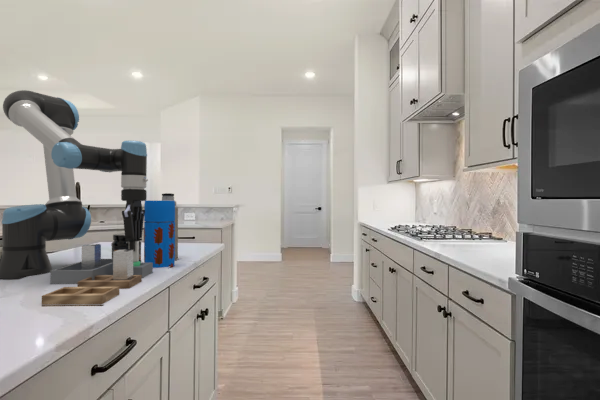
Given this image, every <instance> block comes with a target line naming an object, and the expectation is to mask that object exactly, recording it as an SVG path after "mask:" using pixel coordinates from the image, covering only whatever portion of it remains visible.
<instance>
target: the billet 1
mask: <svg viewBox="0 0 600 400" xmlns="http://www.w3.org/2000/svg"><path fill="white" fill-rule="evenodd" d="M101 259H102V244H101V243H95V244H93V243H92V244H84V245H81V261H82V270H93V269H95V268H98V267H101Z"/></svg>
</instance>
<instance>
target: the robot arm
mask: <svg viewBox="0 0 600 400" xmlns="http://www.w3.org/2000/svg"><path fill="white" fill-rule="evenodd" d="M2 109H3V113H4V115H5V116H6V118H7V119H8V120H10V122H12V123H13V124H14V125H16V126H18V127H21V128H23V129H25V131H27V132H28V133H30V135H31V136H33V137H34V138H35V139H36V140H37V141H38V142H40V143H41V144H42V146H43V155H44V156H43V157H44V164H45V173H46V182H47V190H48V191H47V192H48V201H46V202H45V203H43V204H42V203H39V204H25V205H17V206H10V207H7V208H5V209H4V210H3V211H2V219H1V220H2V221H1V225H2V226H1V227H2V228H1V229H2V236H1V237H2V242H1V245H2V252H1V256H0V279H1V280H3V279H4V280H12V279H14V280H15V279H17V280H18V279H25V278H28V277H34V276H40V275H45V274H48V273H50V271H51V270H53V269H52V268H53V267H52V263H51V261H50V258H49V255H48V253H47V250H46V246H47V243H46V242H51V241H62V240H73V239H79V238H83V236H85V235H86V234H87V233H88V231H89V229H90V227H91V225H92V215H91V212H90V210H89V209H88V208H87V207H85V206H83V201H82V200H80V199H79V198H78V197H77V191H76V180H75V173H74V170H75V169H76V170H78V169H79V170H90V171H100V172H103V173H115V172H116V173H117V172H121V173H120V175H121V176H120V187H121V188H122V189H121V191H120V193H121V195H120V196H121V197H120V199H121V201H122V202H123V201H124V202H126V203H125V208H124V209H125V210H121V215H122V218H123V228H124V229H123V230H124V233H125V241H126V242H127V241H129V249H132V250H133V262H137V261H139V241H141V242H142V241H143V232H144V231H143V230H144V214H145V210H144V209H143V205H142V202H145V201H147V190H146V188H147V183H148V181H149V179H148V178H147V173H148V171H147V168H148V167H147V164H148V160H147V157H148V153H147V145H146V143H145V142H143V141H140V140H139V141H138V140H124V141H122V142H121V146H120V148H107V147H99V146H93V145H85V144H82V143H81V142H80V141H78V140H77V139H75V138H74V137H73V136H72V135H73V134H74V131H75V130H76V129H77V128H78V126H79V122H80V115H79V111H78V108H77V106H76V105H75V104H74V103H72V102H71V101H70V100H67V99H64V98H61V97H58V96H57V97H55V96H51V95H48V94H43V93H39V92H36V91H32V90H26V89H25V90H23V89H22V90H17V91H13V92H11V93H9V94H8V95H7V96H6V97H5V98H4V100H3V104H2Z"/></svg>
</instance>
